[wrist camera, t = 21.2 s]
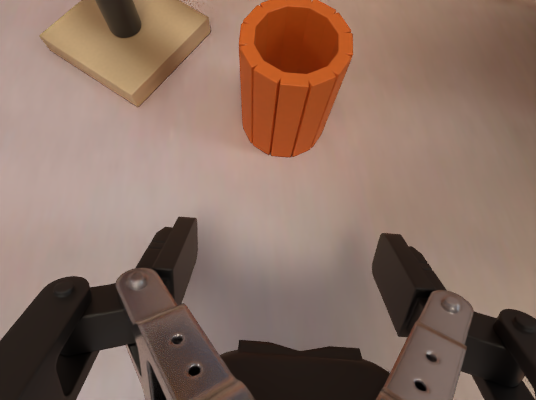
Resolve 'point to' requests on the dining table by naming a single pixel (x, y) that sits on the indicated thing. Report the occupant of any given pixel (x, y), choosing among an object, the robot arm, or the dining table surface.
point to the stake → (127, 41)
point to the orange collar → (291, 72)
